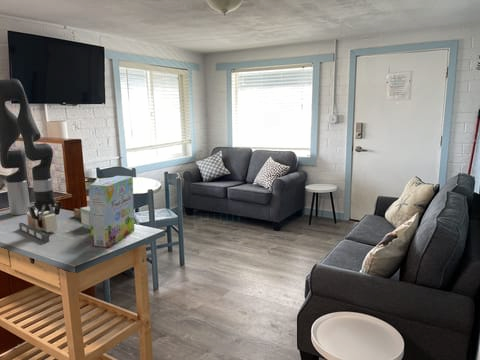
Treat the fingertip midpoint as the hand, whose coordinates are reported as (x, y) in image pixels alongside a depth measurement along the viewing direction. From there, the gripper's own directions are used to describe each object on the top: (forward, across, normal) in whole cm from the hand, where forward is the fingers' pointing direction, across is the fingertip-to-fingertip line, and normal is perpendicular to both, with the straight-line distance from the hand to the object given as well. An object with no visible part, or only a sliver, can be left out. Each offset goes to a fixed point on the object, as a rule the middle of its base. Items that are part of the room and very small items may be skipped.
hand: (47, 225), depth 163 cm
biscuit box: (+2, 0, 0) cm, 2 cm away
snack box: (+3, +14, -31) cm, 34 cm away
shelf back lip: (+3, +20, 0) cm, 20 cm away
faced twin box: (+3, 0, +10) cm, 10 cm away
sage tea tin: (+3, +16, -9) cm, 19 cm away
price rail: (+3, -6, 0) cm, 7 cm away
